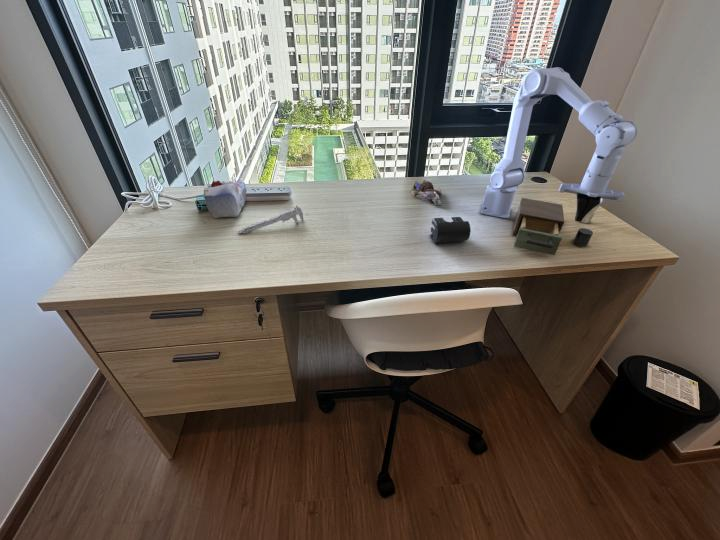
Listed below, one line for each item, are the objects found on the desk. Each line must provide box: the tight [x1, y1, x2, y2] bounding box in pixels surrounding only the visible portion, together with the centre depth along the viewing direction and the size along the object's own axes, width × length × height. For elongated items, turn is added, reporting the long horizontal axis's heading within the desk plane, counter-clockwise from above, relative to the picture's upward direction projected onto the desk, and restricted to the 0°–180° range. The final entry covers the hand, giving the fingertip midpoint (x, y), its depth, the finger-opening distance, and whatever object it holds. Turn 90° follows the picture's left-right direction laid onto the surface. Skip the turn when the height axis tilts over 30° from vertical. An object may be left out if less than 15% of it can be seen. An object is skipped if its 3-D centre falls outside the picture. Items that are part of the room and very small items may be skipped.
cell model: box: [203, 180, 247, 219], centre depth 113 cm, size 13×11×20 cm
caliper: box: [238, 204, 304, 234], centre depth 104 cm, size 20×1×6 cm, turn 113°
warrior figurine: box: [411, 179, 443, 206], centre depth 125 cm, size 12×5×18 cm
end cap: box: [429, 216, 471, 244], centre depth 99 cm, size 10×7×7 cm
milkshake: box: [580, 198, 604, 224], centre depth 109 cm, size 5×5×10 cm
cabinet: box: [512, 197, 565, 237], centre depth 104 cm, size 13×12×8 cm
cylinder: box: [572, 227, 594, 248], centre depth 99 cm, size 4×4×4 cm
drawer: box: [513, 217, 563, 256], centre depth 96 cm, size 16×11×6 cm
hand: (577, 220), depth 93 cm, fingers closed
